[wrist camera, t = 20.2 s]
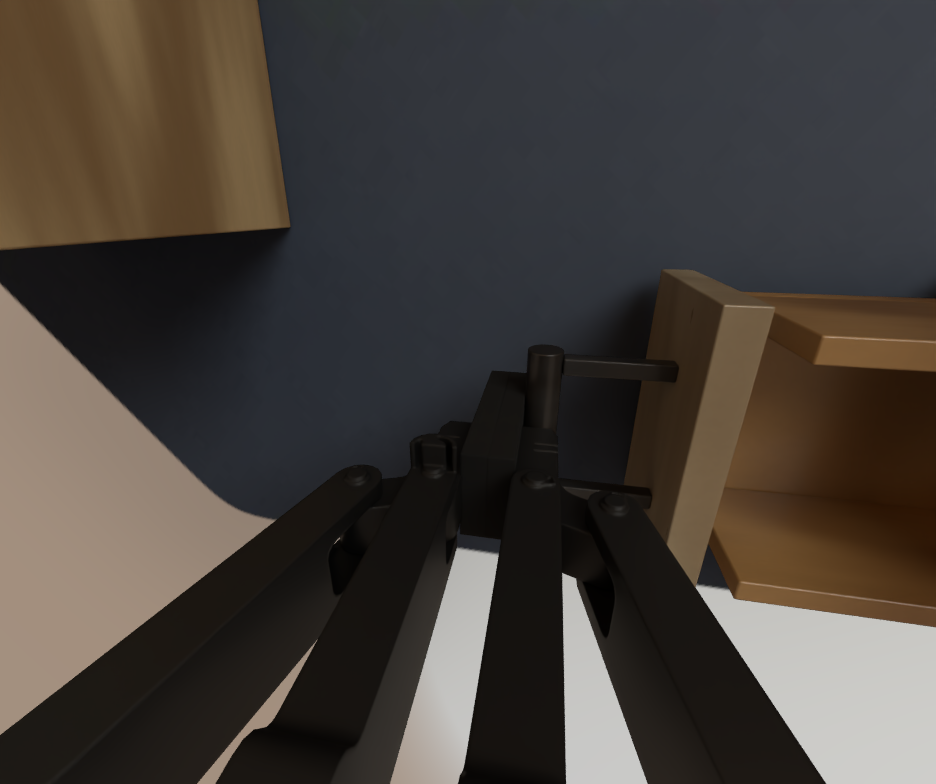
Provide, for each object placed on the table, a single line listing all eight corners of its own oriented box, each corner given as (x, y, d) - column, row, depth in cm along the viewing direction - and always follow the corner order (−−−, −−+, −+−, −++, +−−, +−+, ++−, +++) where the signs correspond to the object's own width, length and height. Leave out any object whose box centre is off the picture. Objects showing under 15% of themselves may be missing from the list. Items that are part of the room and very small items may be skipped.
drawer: (522, 479, 22) (510, 587, 16) (536, 265, 18) (528, 297, 11) (946, 525, 19) (1138, 680, 13) (1081, 280, 15) (1463, 333, 9)
